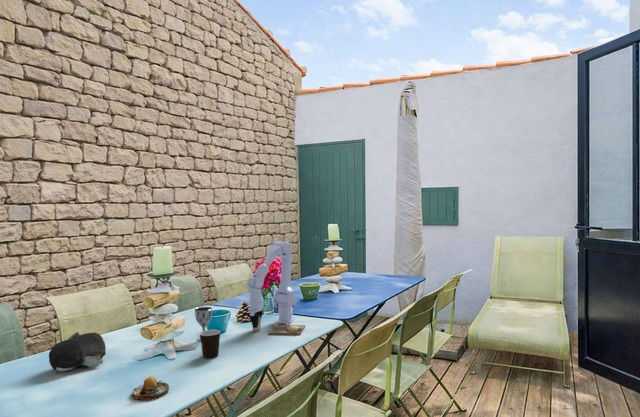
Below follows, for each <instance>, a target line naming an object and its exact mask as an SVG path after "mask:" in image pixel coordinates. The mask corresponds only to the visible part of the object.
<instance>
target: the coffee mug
mask: <svg viewBox="0 0 640 417" xmlns="http://www.w3.org/2000/svg"><path fill="white" fill-rule="evenodd" d="M199 339H200V340H201V342H200V345H201V353H202V358H204V359H205V360H206V359H208V360H209V359H215V358H217V357H218V356H219V352H220V340H221V330H218V329H207V330H206V329H205V331H203V330H202V331H201V332H199Z"/></svg>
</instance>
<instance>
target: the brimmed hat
mask: <svg viewBox="0 0 640 417" xmlns="http://www.w3.org/2000/svg"><path fill="white" fill-rule="evenodd" d="M169 387H170V386H169V384H168V383H167V382H164V381H162V380H159V381H158V379H157V378H156V377H154V376H151V375H150V376H149V377H146V378H145V379H144V380H143V384H141V385H138V386H137V387H135V388H133V389H132V393H131V397H132V398H133V400H135V401H136V400H140V401H142V402H146V401H147V400H148V401H153V400H152V399H154V400H156V399H155V398H157V399H160V398H162V397H163V398H164V396H166V395H168V393H169V390H170V388H169ZM159 397H160V398H159Z"/></svg>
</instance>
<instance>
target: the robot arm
mask: <svg viewBox="0 0 640 417" xmlns="http://www.w3.org/2000/svg"><path fill="white" fill-rule="evenodd" d="M292 248H293V247H292V244H291V243H290V242H288V241H277V240H274V241H273V242H272V243H271V245H270V247H269V252H268V254H267V255H266V258H265V259H264V261H263V263H261V264H259V265H258V266H257V269H256V270H255V272H254V273H252V274H253V275H252V276H250V277H249V278H248V279H247V282H246V284H247V287H248V290H249V304H250V305H249V307H248V308H247V310H248V311H249V314H248V317H249V319H250V321H251V325H252V329H253V328H257V327H258V319H259V316H260V323H261V321H262V316H263V314H264V310H263V304H262V287H263V286H264V281H265V278H266V276H267V274H268V273H269V271H270V268H269V267H270V266H271V264H272V263H273V262H274V260H275V259H276V258H277V257H280V258H281V266H280V267H281V268H280V285H279V288H277V289H276V294H275V296H274V300H275V302H276V303H277V306H278V320H277V321H276V323H280V322H287V323H289V324H292V323H293V321H294V319H295V317H294V315H293V310H294V309H293V305H294V302H295V295H294V293H295V291H294V290H293V289H292V287H291V281H292V280H291V277H292V276H291V275H292V263H293V262H292V261H293V260H292V258H293V254H292Z"/></svg>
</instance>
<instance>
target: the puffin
mask: <svg viewBox="0 0 640 417" xmlns="http://www.w3.org/2000/svg"><path fill="white" fill-rule="evenodd" d="M106 355H107V354H106V343H105V341H104V338H103V336H102V335H101V334H99V333H97V332H87V333H86V332H85V333H82V334H80V332H78V331H75V332H74V333H73V334H72V335H70V337H69V338H68V339H65V340H61V341H60V342H58V343H56V344H55V345H53V346H52V347H51V349H50V350H49V353H48V362H49V365H50V366H51V368H52V369H53V370H54V371H55V372H68V371H72V370H73V369H74V368H76V367H82V366H83V367H88V368H92V367H93V368H94V367H99V365H101V364H103V358H104V356H106Z"/></svg>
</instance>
